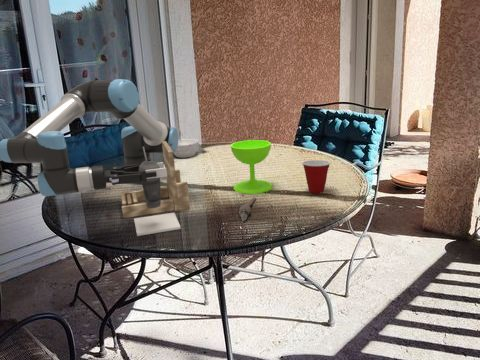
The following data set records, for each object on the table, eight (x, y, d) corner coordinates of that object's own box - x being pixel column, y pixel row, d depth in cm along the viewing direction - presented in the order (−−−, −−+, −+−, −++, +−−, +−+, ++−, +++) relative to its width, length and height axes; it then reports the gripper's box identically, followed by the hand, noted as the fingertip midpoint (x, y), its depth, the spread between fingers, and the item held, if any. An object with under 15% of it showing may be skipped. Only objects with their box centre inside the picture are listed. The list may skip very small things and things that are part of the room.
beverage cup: (160, 209, 147) (153, 149, 142) (139, 209, 149) (131, 149, 143) (167, 202, 154) (161, 144, 149) (147, 202, 156) (140, 144, 150)
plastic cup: (332, 187, 180) (332, 158, 177) (328, 196, 170) (328, 165, 167) (305, 186, 184) (304, 157, 180) (299, 195, 174) (299, 164, 171)
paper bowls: (198, 158, 239) (196, 143, 237) (169, 160, 240) (167, 145, 238) (200, 151, 254) (199, 137, 252) (173, 153, 254) (172, 139, 252)
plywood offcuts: (124, 215, 164) (122, 203, 163) (122, 205, 176) (121, 193, 174) (138, 213, 166) (137, 201, 164) (136, 202, 177) (135, 191, 176)
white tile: (137, 236, 146) (136, 233, 146) (134, 220, 159) (133, 218, 158) (180, 228, 149) (180, 226, 149) (174, 214, 162) (174, 212, 162)
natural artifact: (239, 226, 152) (231, 217, 152) (254, 201, 173) (247, 192, 172) (248, 220, 150) (240, 211, 150) (262, 195, 171) (255, 187, 171)
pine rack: (123, 219, 161) (114, 158, 154) (121, 201, 179) (113, 147, 173) (190, 209, 167) (184, 150, 160) (181, 193, 185) (175, 139, 179)
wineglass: (260, 196, 176) (258, 150, 171) (225, 191, 184) (222, 147, 179) (279, 184, 189) (278, 141, 183) (246, 180, 197) (244, 139, 192)
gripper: (94, 181, 154) (162, 172, 160) (93, 199, 136) (170, 188, 141) (90, 159, 152) (160, 151, 158) (89, 174, 133) (168, 164, 139)
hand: (165, 169), depth 150 cm, fingers closed on beverage cup, 7 cm apart
